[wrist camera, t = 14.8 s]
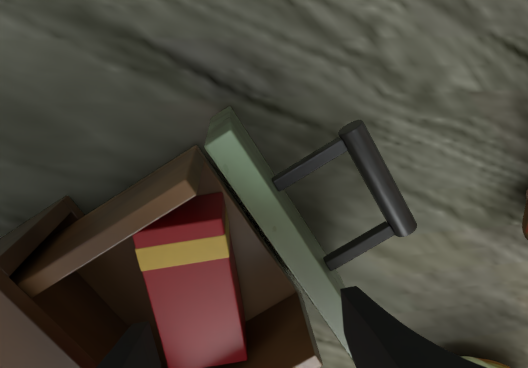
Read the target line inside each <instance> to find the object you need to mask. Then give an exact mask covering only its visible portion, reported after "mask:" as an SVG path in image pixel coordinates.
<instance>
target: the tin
mask: <svg viewBox="0 0 528 368" xmlns="http://www.w3.org/2000/svg"><path fill="white" fill-rule="evenodd" d="M526 200H527V201H526V206H525V211H524V216H523V223H522V229H523V233H524V236H525V238H526V239H527V240H528V189H527V191H526Z"/></svg>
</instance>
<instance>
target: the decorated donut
mask: <svg viewBox="0 0 528 368" xmlns="http://www.w3.org/2000/svg"><path fill="white" fill-rule="evenodd" d="M460 357H462V358H465V359H467V360H469V361H472V362H474V363H476V364H479V365H482V366H484V367H487V368H510V367H509V366H507V365H504V364H502V363H499V362H496V361H494V360H488V359H480V358H474V357H469V356H460Z"/></svg>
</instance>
